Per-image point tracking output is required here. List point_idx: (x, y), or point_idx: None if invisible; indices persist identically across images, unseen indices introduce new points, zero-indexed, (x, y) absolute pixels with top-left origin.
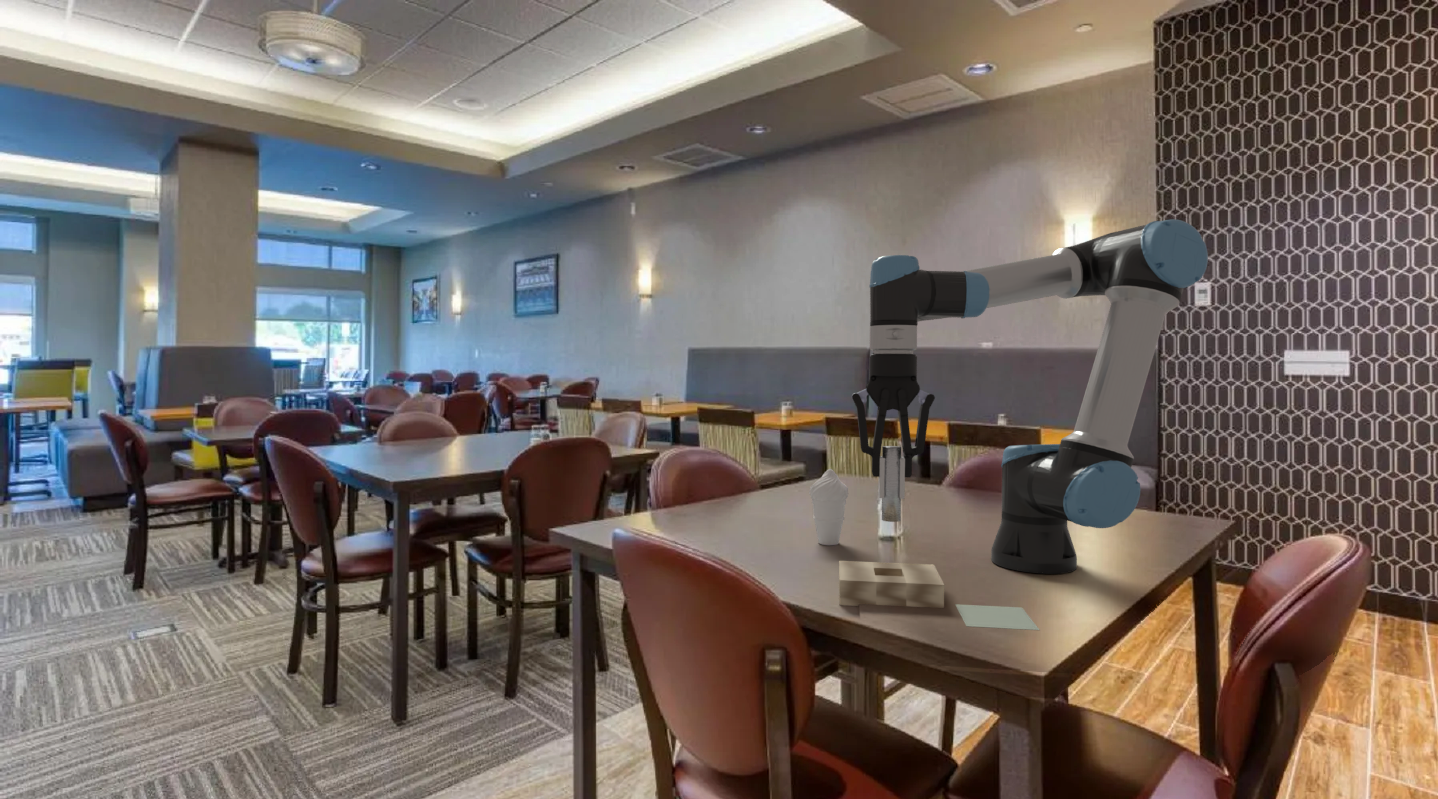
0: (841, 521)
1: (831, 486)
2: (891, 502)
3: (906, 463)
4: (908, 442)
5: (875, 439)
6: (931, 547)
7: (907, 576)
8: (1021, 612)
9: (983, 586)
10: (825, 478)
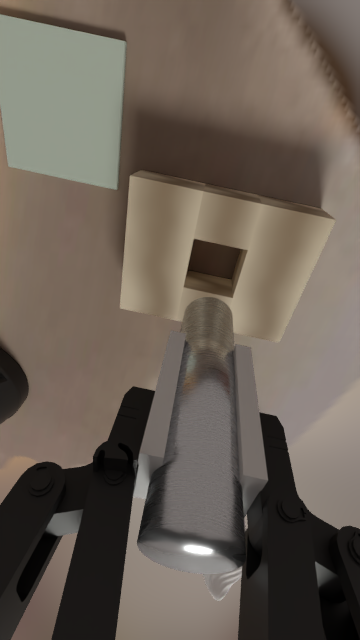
0: None
1: None
2: (213, 328)
3: (134, 438)
4: (89, 554)
5: (318, 627)
6: (95, 442)
7: (187, 238)
8: (11, 136)
9: (54, 290)
10: (229, 578)
